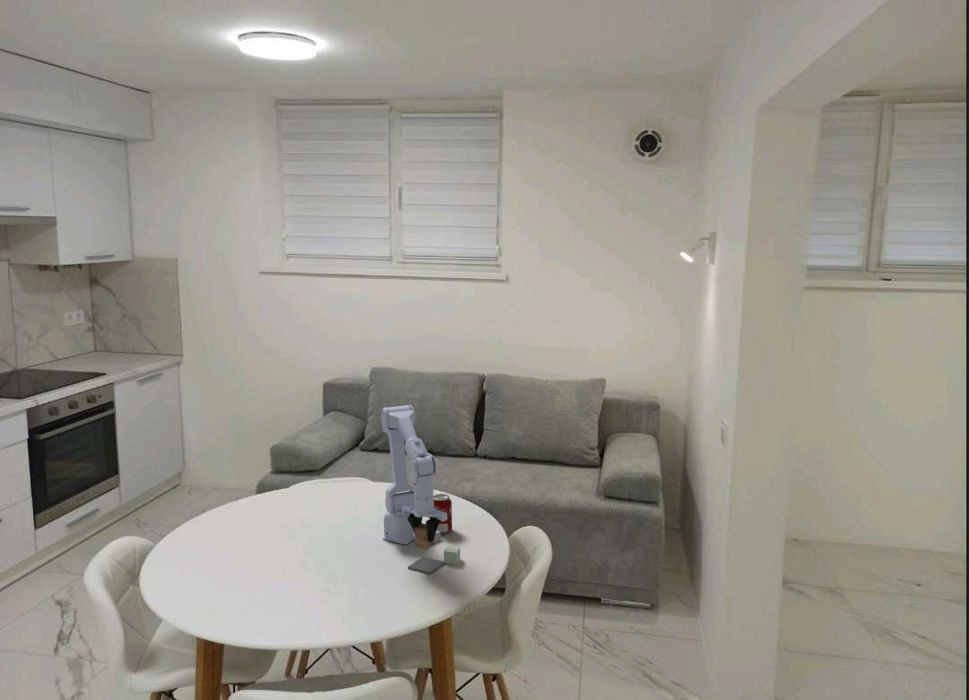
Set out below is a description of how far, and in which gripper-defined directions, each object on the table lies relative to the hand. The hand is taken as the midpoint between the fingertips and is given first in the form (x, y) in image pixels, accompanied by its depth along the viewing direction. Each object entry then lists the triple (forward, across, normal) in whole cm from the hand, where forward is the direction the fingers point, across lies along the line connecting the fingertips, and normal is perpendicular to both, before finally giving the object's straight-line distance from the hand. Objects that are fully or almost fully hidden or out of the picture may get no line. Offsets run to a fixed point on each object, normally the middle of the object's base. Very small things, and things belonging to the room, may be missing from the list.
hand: (425, 539), depth 222 cm
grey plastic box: (+9, -9, +17) cm, 21 cm away
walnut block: (+2, 0, 0) cm, 2 cm away
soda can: (+9, -9, +24) cm, 27 cm away
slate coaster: (+8, 0, 0) cm, 9 cm away
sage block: (+9, +6, +6) cm, 12 cm away
